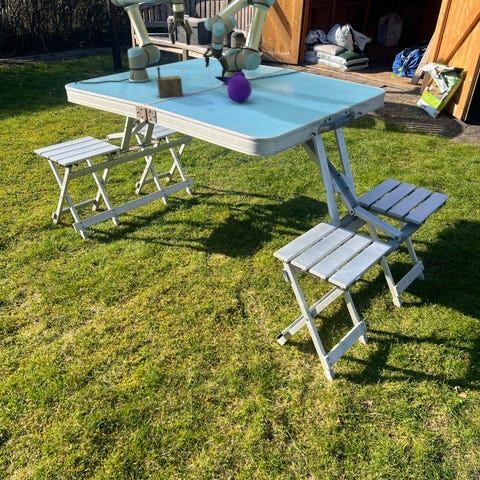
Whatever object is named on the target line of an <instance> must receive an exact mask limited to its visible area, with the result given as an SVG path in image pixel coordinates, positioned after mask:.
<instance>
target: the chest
mask: <svg viewBox="0 0 480 480" xmlns="http://www.w3.org/2000/svg"><path fill="white" fill-rule="evenodd" d="M182 82H183V81H182V79H181V80H175V81H161V82H157V81H156V86H157V95H158V97H159V99H164V98H175V97H176V98H177V97H184V96H183V95H184V94H183V83H182Z"/></svg>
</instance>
